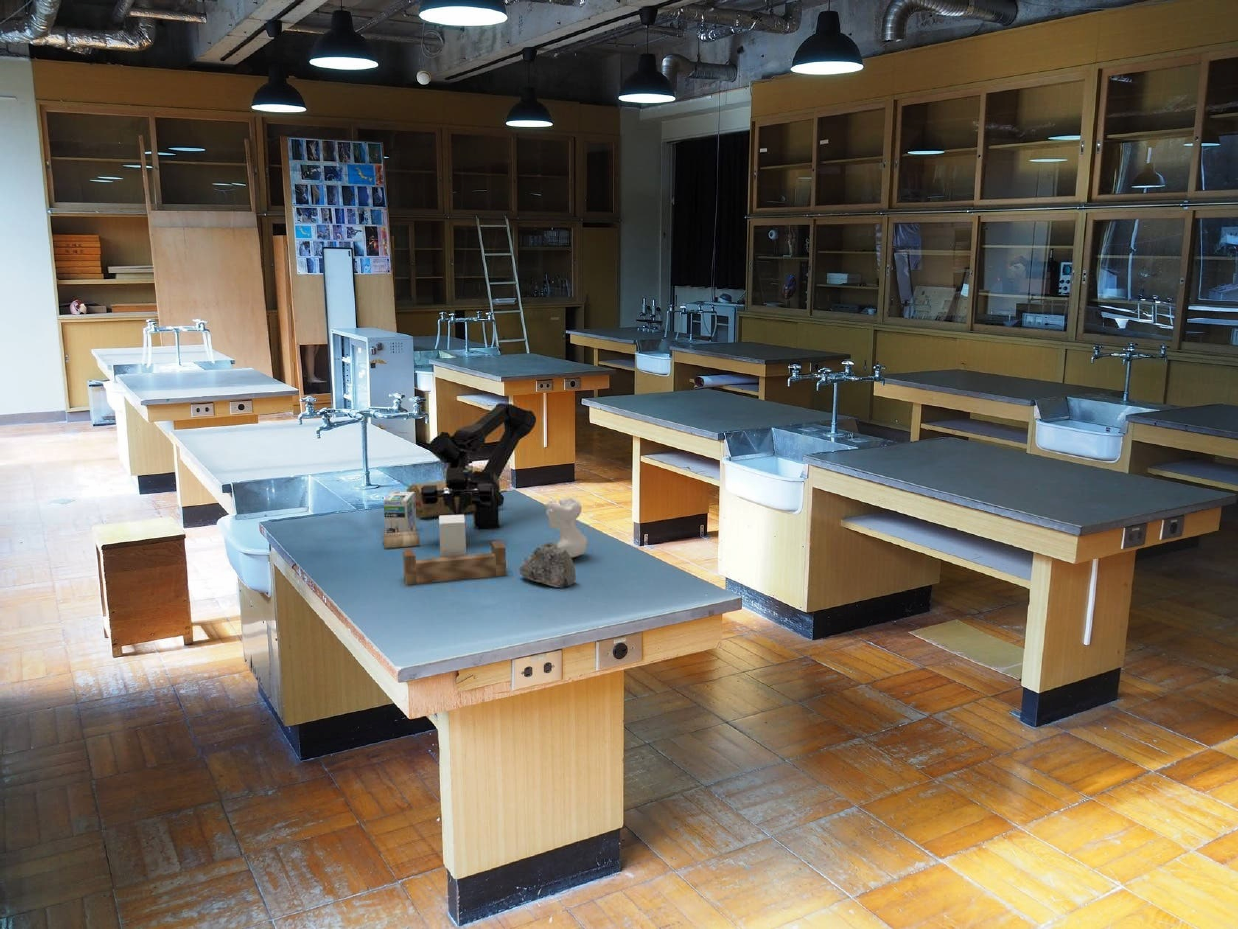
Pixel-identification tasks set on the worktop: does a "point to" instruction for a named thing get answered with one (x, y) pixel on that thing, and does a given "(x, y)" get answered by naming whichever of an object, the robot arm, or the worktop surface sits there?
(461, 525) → the small box
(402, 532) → the roller
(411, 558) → the stop rail
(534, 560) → the mineral rock
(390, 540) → the roller
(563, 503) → the white bust sculpture
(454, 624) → the worktop surface
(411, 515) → the light bulb box
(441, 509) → the core sample
